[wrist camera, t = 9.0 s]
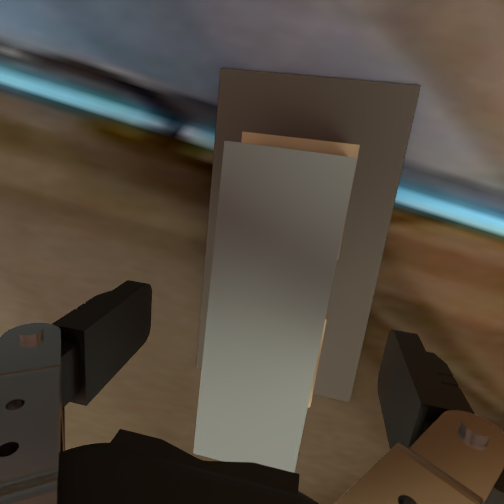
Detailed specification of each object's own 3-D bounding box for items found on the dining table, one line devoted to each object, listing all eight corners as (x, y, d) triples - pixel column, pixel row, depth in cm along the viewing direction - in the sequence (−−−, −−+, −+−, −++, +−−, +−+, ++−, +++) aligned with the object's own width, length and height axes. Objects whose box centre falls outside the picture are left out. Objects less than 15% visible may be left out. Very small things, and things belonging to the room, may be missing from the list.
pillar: (264, 137, 22) (242, 131, 16) (350, 147, 21) (359, 144, 15) (254, 220, 23) (231, 242, 17) (335, 232, 22) (338, 259, 16)
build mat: (222, 69, 21) (220, 68, 21) (419, 86, 20) (420, 85, 19) (197, 366, 27) (196, 368, 27) (349, 399, 25) (349, 402, 25)
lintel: (254, 144, 16) (224, 140, 11) (347, 156, 15) (357, 158, 11) (225, 379, 19) (193, 453, 15) (301, 397, 19) (292, 479, 14)
